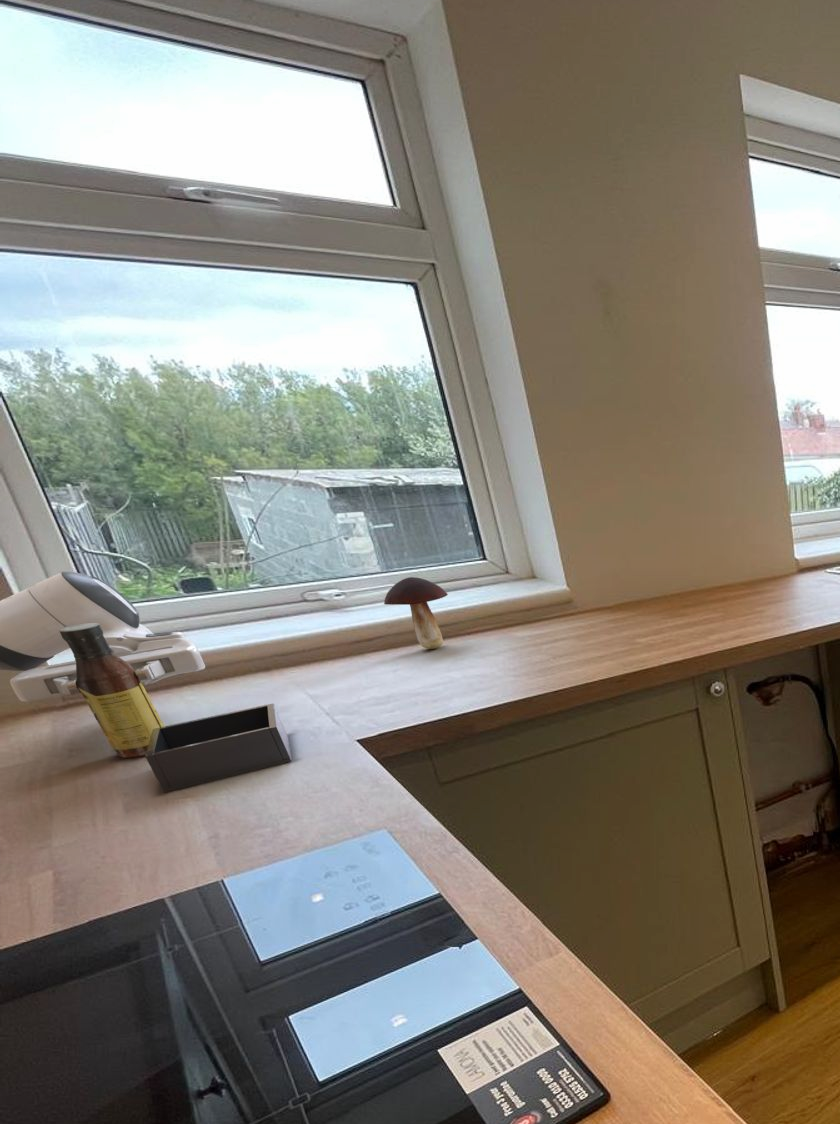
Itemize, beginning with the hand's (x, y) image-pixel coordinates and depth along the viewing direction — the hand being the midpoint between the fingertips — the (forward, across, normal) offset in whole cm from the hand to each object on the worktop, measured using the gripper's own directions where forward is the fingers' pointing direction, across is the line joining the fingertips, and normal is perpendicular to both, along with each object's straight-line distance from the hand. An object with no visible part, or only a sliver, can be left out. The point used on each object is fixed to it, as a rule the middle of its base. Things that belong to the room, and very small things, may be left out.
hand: (108, 682), depth 118 cm
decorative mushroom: (-31, +42, +12) cm, 53 cm away
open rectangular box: (+15, +10, +12) cm, 22 cm away
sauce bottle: (-1, 0, +12) cm, 12 cm away
